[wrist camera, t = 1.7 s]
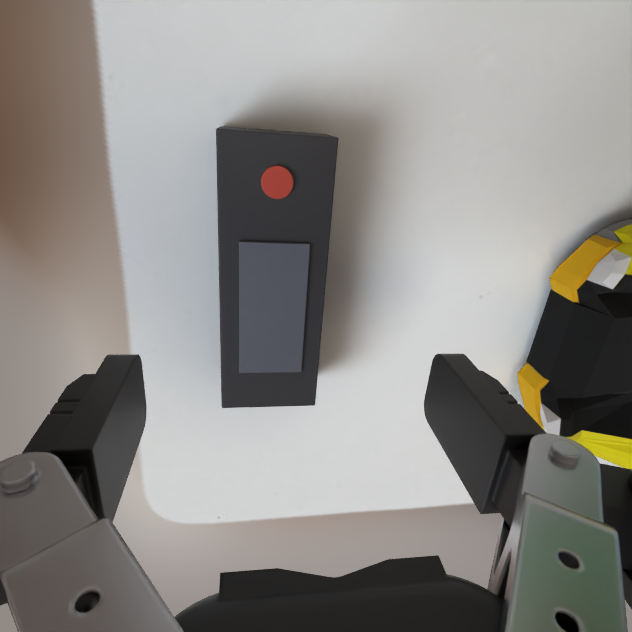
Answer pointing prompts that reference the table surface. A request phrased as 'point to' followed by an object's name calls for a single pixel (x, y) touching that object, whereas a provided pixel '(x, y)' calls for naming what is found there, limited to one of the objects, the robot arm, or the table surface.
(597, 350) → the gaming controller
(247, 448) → the table surface
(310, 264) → the remote
